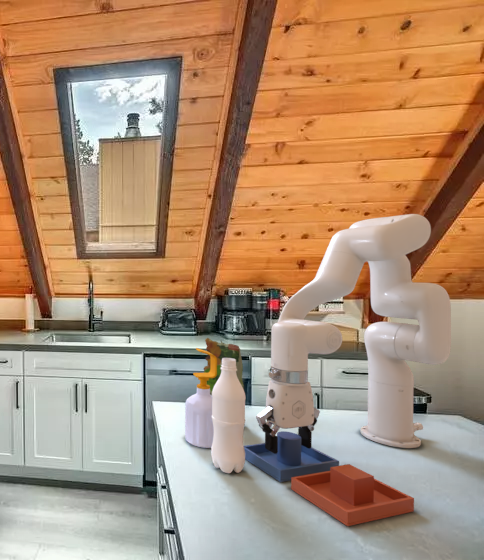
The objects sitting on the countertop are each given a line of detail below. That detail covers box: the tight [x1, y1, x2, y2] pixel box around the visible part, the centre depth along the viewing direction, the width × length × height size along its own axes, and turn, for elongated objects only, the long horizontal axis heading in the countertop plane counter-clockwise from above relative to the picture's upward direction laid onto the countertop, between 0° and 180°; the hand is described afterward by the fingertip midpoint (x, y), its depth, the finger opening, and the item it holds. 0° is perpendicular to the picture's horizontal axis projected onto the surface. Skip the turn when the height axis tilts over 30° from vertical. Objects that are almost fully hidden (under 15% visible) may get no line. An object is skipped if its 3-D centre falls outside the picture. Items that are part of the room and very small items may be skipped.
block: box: [330, 463, 375, 506], centre depth 76 cm, size 5×5×5 cm
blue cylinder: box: [276, 430, 301, 466], centre depth 90 cm, size 5×5×6 cm
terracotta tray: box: [290, 471, 415, 527], centre depth 76 cm, size 16×12×2 cm
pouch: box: [203, 337, 246, 427], centre depth 114 cm, size 11×12×25 cm
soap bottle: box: [184, 347, 217, 449], centre depth 102 cm, size 9×9×25 cm
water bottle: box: [210, 358, 247, 474], centre depth 88 cm, size 7×7×25 cm
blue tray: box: [244, 442, 340, 483], centre depth 90 cm, size 16×12×2 cm
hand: (288, 448), depth 90 cm, fingers open, 9 cm apart
